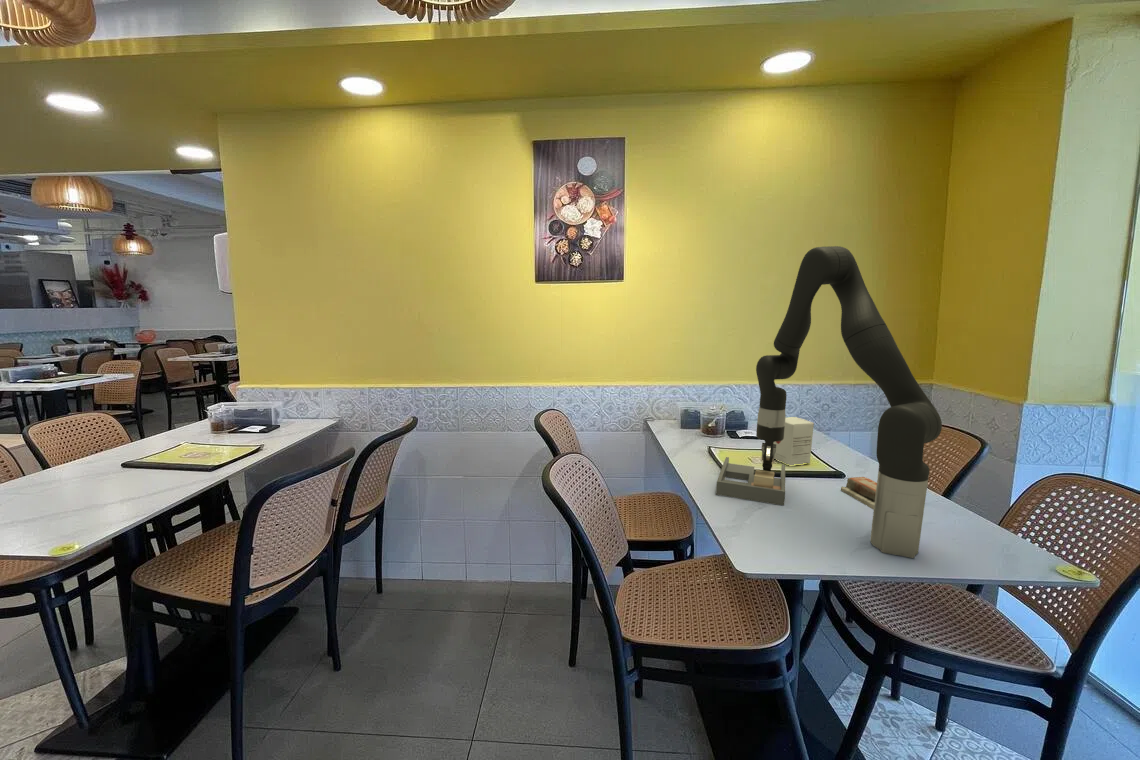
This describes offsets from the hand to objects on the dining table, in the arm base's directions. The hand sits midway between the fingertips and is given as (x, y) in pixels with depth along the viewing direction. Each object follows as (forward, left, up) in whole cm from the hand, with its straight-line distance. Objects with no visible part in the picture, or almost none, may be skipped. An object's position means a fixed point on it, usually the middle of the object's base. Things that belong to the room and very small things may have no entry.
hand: (766, 479), depth 145 cm
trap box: (0, +4, -3) cm, 5 cm away
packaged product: (+2, -29, -3) cm, 29 cm away
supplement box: (+29, -7, -3) cm, 30 cm away
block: (-5, 0, -1) cm, 6 cm away
